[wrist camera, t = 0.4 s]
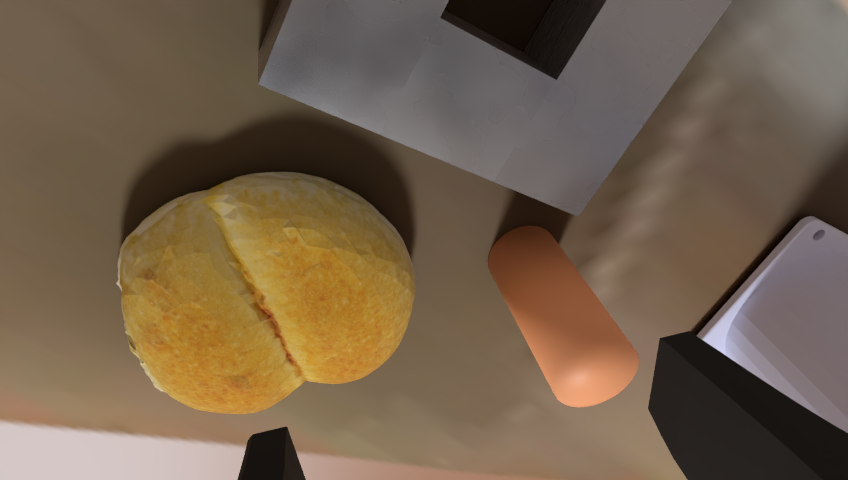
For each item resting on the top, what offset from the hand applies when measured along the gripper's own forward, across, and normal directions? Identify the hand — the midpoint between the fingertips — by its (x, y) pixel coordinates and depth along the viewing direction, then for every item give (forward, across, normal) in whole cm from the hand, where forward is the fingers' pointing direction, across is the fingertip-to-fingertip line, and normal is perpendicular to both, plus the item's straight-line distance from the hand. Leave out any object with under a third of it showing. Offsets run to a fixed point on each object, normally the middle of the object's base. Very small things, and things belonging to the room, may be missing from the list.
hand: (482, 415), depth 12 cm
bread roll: (+10, +5, +3) cm, 11 cm away
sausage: (+10, -4, +4) cm, 11 cm away
